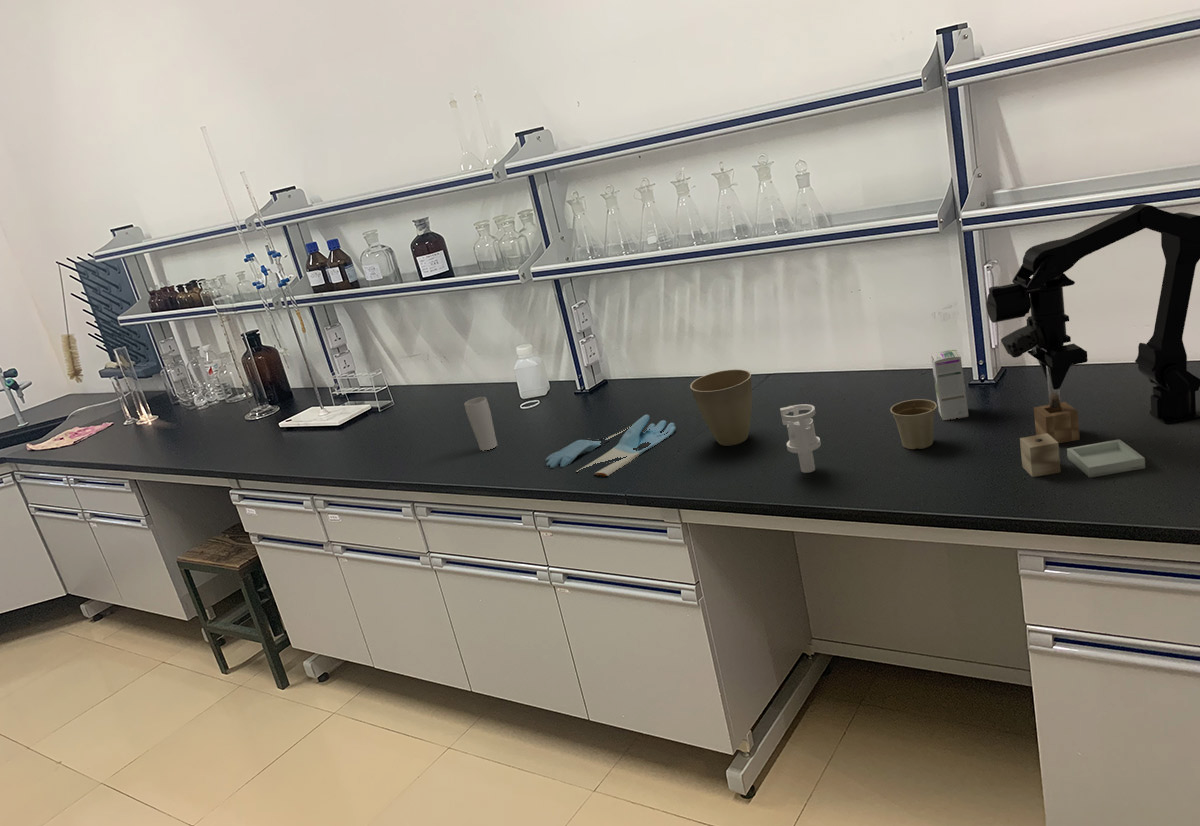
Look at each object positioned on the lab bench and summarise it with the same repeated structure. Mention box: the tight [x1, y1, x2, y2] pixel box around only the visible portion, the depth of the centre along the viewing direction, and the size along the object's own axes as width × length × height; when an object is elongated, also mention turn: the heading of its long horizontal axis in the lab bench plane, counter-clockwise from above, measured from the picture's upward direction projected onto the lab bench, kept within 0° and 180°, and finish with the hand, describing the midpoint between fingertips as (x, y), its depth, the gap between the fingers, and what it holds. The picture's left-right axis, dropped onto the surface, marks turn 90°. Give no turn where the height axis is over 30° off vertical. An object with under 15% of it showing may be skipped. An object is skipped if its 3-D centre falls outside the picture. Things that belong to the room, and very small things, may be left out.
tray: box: [1066, 439, 1146, 478], centre depth 159 cm, size 9×9×2 cm
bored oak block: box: [1033, 401, 1080, 444], centre depth 173 cm, size 6×6×6 cm
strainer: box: [779, 403, 822, 474], centre depth 185 cm, size 7×7×15 cm
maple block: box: [1019, 433, 1062, 478], centre depth 162 cm, size 5×5×6 cm
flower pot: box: [889, 398, 938, 450], centre depth 185 cm, size 9×9×9 cm
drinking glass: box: [463, 396, 498, 452], centre depth 251 cm, size 7×7×15 cm
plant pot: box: [689, 368, 753, 447], centre depth 212 cm, size 15×15×16 cm
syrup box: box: [930, 349, 969, 421], centre depth 195 cm, size 6×6×14 cm
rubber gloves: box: [544, 414, 677, 477], centre depth 230 cm, size 27×33×6 cm
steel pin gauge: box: [1046, 366, 1062, 408], centre depth 171 cm, size 2×2×10 cm
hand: (1053, 387), depth 171 cm, fingers closed on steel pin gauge, 2 cm apart
